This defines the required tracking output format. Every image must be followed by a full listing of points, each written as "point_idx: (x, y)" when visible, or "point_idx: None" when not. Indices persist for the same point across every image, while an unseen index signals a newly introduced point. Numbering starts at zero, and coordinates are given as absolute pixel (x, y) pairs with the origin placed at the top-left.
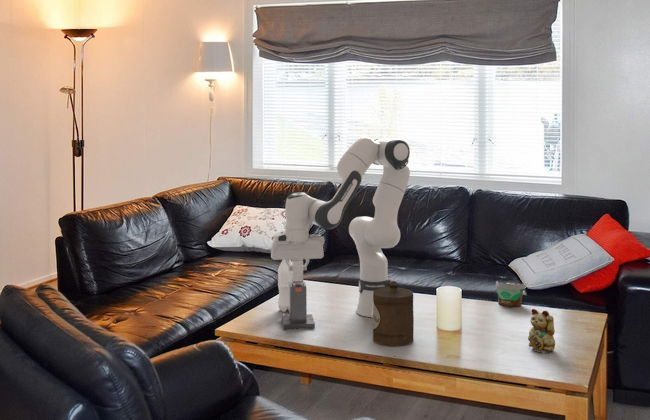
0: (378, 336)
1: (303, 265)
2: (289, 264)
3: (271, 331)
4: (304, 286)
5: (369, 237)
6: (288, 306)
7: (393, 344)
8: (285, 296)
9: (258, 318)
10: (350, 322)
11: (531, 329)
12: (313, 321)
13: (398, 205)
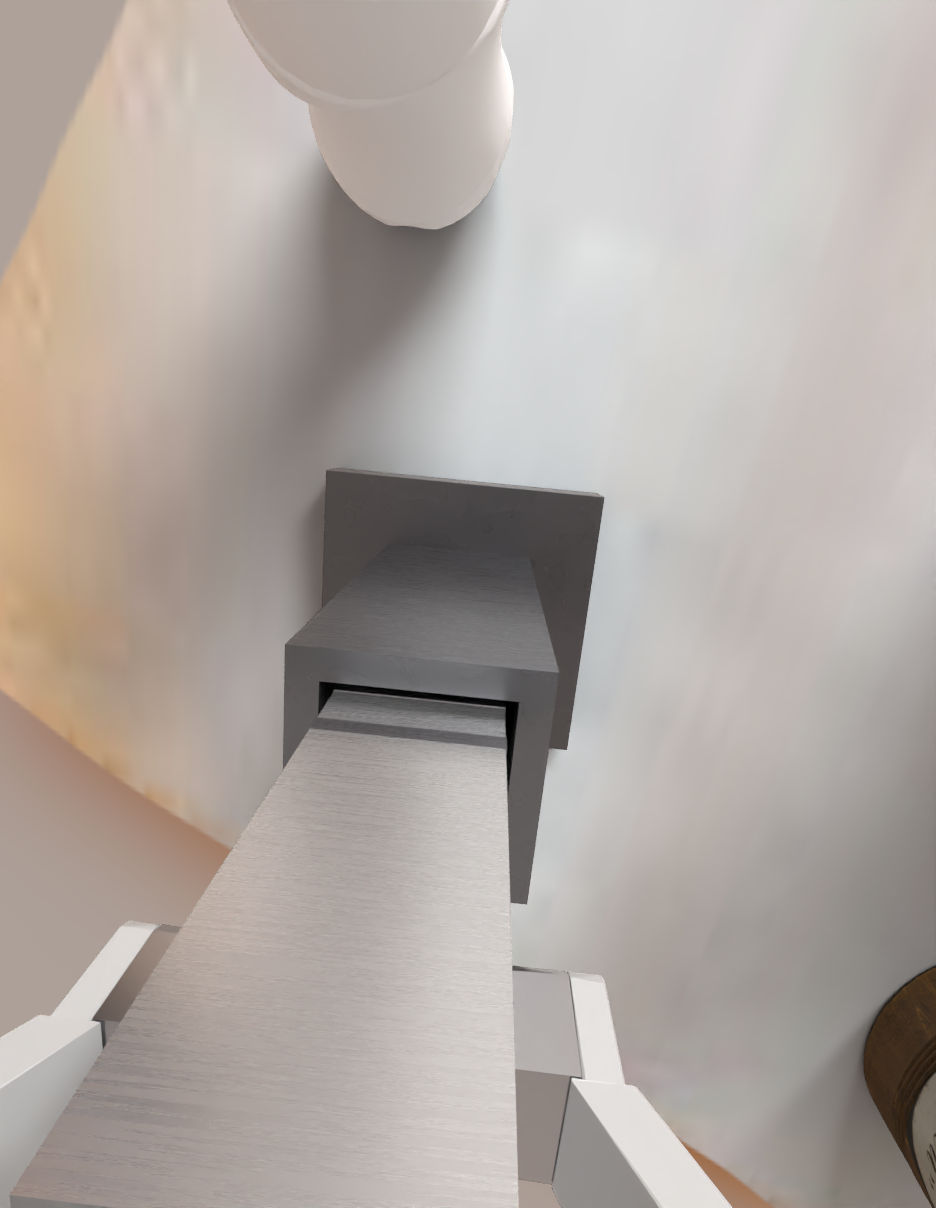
0: (898, 1144)
1: (520, 1129)
2: (55, 1100)
3: (238, 723)
4: None
5: None
6: (418, 225)
7: None
8: (369, 148)
9: (142, 365)
10: (883, 650)
11: None
12: (568, 700)
13: None
